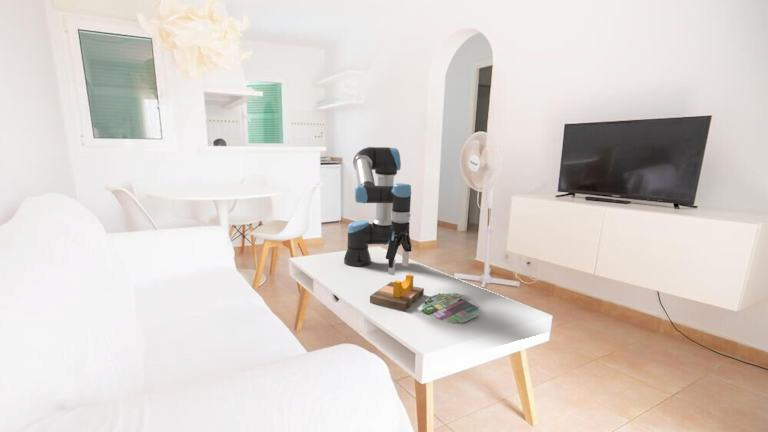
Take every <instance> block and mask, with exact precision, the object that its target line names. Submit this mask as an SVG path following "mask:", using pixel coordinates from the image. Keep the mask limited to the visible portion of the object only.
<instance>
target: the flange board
mask: <svg viewBox="0 0 768 432" xmlns="http://www.w3.org/2000/svg"><path fill="white" fill-rule="evenodd" d="M393 286H394V281H390V282H388V283H387V284H385V285H384V286H382V287H381V288H380V289H378V290H377V291H375V292H374V293H372V294H371V295H370V296H369V303H370V304H375V305H378V306H383V307H385V308H389V309H390V308H391V309H395V310H399V311H403V312H406V311H407V310H408V309H409V308H410V307H412V306H413V305H414V304H415V303H416V302H417V301H418V300H420V299H421V298H422V297H423V296H424V294H425V293H424V291H425V289H424V288H423V287H418V286H414V285H413V290H411V291H409V292H408V293H406V294H404V295H403V296H401V297H399V298H397V297H393Z"/></svg>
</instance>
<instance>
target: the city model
mask: <svg viewBox="0 0 768 432" xmlns="http://www.w3.org/2000/svg"><path fill="white" fill-rule="evenodd" d="M480 308H481V307H480V305H479V304H478V301H476V299H474V298H472V297H470V296H468V295H465V294H461V293H455V292H453V293H451V292H448V293H444V292H443V293H440V292H439V293H437V294H433V295H432V296H431V295H430V296H429V297H428V298H427V299H425V301H423V303H422V304H421V310H420V311H421V312H422V314H424V315H427V316H430V317H432V318H435V319H438V320H440V321H444V322H446V323H449V324H453V325H454V324H456V323H459V324H460V323H465V322H467V321H470V320H472V319H474V318H476V317H478V316H479V314H480V313H481V310H480Z"/></svg>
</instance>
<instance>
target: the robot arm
mask: <svg viewBox="0 0 768 432" xmlns="http://www.w3.org/2000/svg"><path fill="white" fill-rule="evenodd" d="M400 154H401V153H400V151H399V150H398V148H396V147H395V148H394V147H386V146H385V147H384V146H383V147H380V146H377V147H376V146H375V147H374V146H368V147H365V148H363V149H360V150H359V151H358V152H357V153H356V154H355V155H354V156H353V161H352V164H353V169H354V170H355V171H356V172H355V173H356V179H357V185H355V188H354V200H355V203H358V204H375V218H374V219H373V220H372V223H370V222H369V221H368V220H357V221H352V222H350V223H348V225H347V243H346V245H347V249H346V252H345V254H344V257H343V258H344V259H343V263H344V265H346V266H347V265H348V266H351V267H365V266H368V265H370V264H371V263H372V257H371V254H370V251H369V245H384V246H386V245H388V247H387V249H386V250H387V251H386V255H385V259H386V260H388V266H387V268H388V269H387V274H388V275H389V276H395V273H396V259H395V258H396V255H397V254H398V253H397V252H398V249H399V247H400V246H401V247H402V249H403V250H402V256H401V257H402V259H401V261H402V262H401V266H403V267H409V258H410V252H412V242H411V237H410V220H411V219H410V218H411V216H412V215H411V201H412V197H411V196H412V186H411V185H410V184H409V183H394V182H395V181H394V179H395V178H394V177H395V176H397V174H398V172H399V171H400V170H401V167H402V166H401V164H402V163H401V155H400ZM373 170H374V173H375V175H376V176H377V184H376V181H375V178H374V173H373Z"/></svg>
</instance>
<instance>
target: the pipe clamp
mask: <svg viewBox="0 0 768 432" xmlns="http://www.w3.org/2000/svg"><path fill="white" fill-rule="evenodd" d="M393 282H394V286H393V297H397V298H399V297H401V296H403V295H404V294H406V293H408V292H409V291H411V290H413V286H414V275H413V274H406V275H405V280H403V281H400V280H396V279H395V280H394V281H393Z"/></svg>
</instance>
